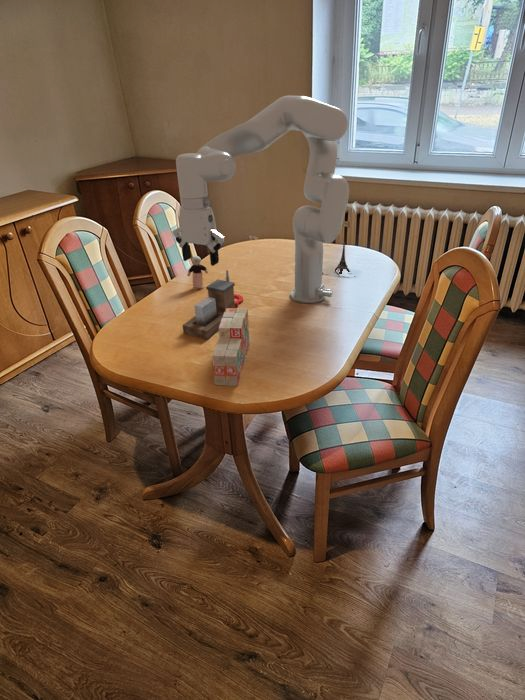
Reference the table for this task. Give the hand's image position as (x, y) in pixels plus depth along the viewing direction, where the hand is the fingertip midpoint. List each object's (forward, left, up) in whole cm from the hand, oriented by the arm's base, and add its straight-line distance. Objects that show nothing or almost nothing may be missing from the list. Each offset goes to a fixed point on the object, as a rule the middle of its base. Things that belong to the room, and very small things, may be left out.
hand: (200, 261), depth 135 cm
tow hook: (+3, -20, -22) cm, 30 cm away
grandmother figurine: (+20, -25, -22) cm, 39 cm away
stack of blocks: (-18, +15, -22) cm, 32 cm away
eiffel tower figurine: (-23, -61, -23) cm, 69 cm away
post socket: (0, -3, -22) cm, 22 cm away
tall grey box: (0, 0, -22) cm, 22 cm away
